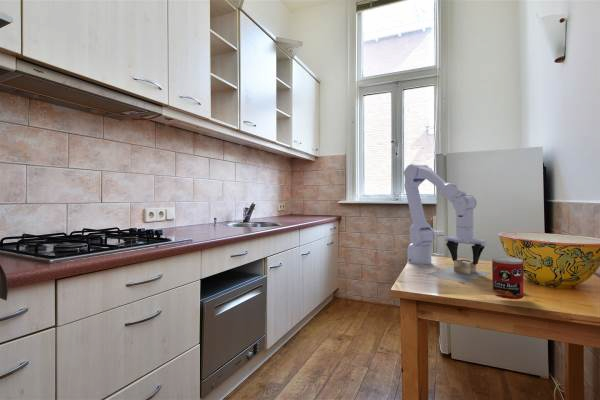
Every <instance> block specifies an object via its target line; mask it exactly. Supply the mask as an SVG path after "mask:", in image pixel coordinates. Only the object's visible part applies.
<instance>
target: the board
mask: <svg viewBox="0 0 600 400" xmlns="http://www.w3.org/2000/svg"><path fill="white" fill-rule="evenodd" d="M490 274H491V272H490V271H489V272H488V271H483V270H477V269H476V272H474V273H471V274H466V273H461V272H456V271H454V265H453V266H452V265H451V266H449V267H445V268H442V269H439V270H435V271H431V272H429V273H426V275H428V276H432V277H436V278H441V279H446V280H450V281H454V282H460V283H468V282H471V281H474V280H475V279H479V278H481V277H482V278H483V277H484V276H487V275H490Z"/></svg>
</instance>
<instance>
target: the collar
mask: <svg viewBox="0 0 600 400" xmlns="http://www.w3.org/2000/svg"><path fill="white" fill-rule="evenodd" d="M461 261H466V262H461ZM467 262H468V263H467ZM453 266H454V271H456V272H461V273H466V274H471V273H474V272H476V270H477V264H476V265H474V264H473V259H472V260H471V259H465V258H457V260H455V261H453Z"/></svg>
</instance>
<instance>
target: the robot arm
mask: <svg viewBox="0 0 600 400" xmlns="http://www.w3.org/2000/svg"><path fill="white" fill-rule="evenodd" d="M403 175H404V185H403V186H404V189H405V190H404V191H405V195H406V199H407V203H408V207H409V208H408V209H409V212H410V217H411V221H412V224H411V225H410V227H409V240H410V242H411V243H410V244H408V245H407V261H406V263H407V264H419V265H430V264H432V245H433V242H434V240H435V239H436V234H435V232H434V230H433V229H432V226H431V224H430V223H428V221H427V219H426V216H425V212H424V211H425V210H424V208H423V203H422V199H421V195H420V190H419V187H420V185H421V184H423V182H425V181H426V180H427V181H428V182H430V183H431V184H432V185H434V186H435V187H436V188H438V189H439V190H440V194H441V195H442V196H443V197H444V198H446V199H447V200H448V202H450V203H451V204H452V207H453V209H454V210H455V219H456V221H455V223H456V224H455V225H456V227H455V229H456V231H455V232H456V234H455V236H450V235H448V236H447V235H446V236H444V242H445V245H446V247H447V248H448V251H449V253H450V256H451V260H452V262H454V261H455V260H458V248H459V244H466V245H471V252H472V261H473V264H474V265H476V266H477V265H478V264H479V260H480V257H481V254H482V253H483V251H484V249H485V247H486V246H488V245H487V240H486V239H479V238H475V237H474V209H475V208H476V207H477V199H476V198H475V197H474V196H473V195H471V194H467V192H466V191H462V190H461V189H460V188H459V187H458V185H457V183H452V182H446V181H445V180H444V179H443V178H442V177H440V176H439V174H437V173H436V172H435V171H434V170H433V169H432V168H431V167H430V166H428V165H426V164H413V163H410V164H408V165H407V166H406V167H405V169H404V171H403ZM446 242H447V243H446ZM408 262H409V263H408Z"/></svg>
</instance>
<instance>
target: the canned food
mask: <svg viewBox="0 0 600 400" xmlns="http://www.w3.org/2000/svg"><path fill="white" fill-rule="evenodd" d="M491 266H492V267H491V274H492V276H491V277H492V282H491V283H492V291H493V292H494V293H497V294H495V296H496V297H499V298H503V299H507V300H520V299H522V298H523V295H524V260H523V259H521V258H518V257H511V256H494V257H492V259H491Z"/></svg>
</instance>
